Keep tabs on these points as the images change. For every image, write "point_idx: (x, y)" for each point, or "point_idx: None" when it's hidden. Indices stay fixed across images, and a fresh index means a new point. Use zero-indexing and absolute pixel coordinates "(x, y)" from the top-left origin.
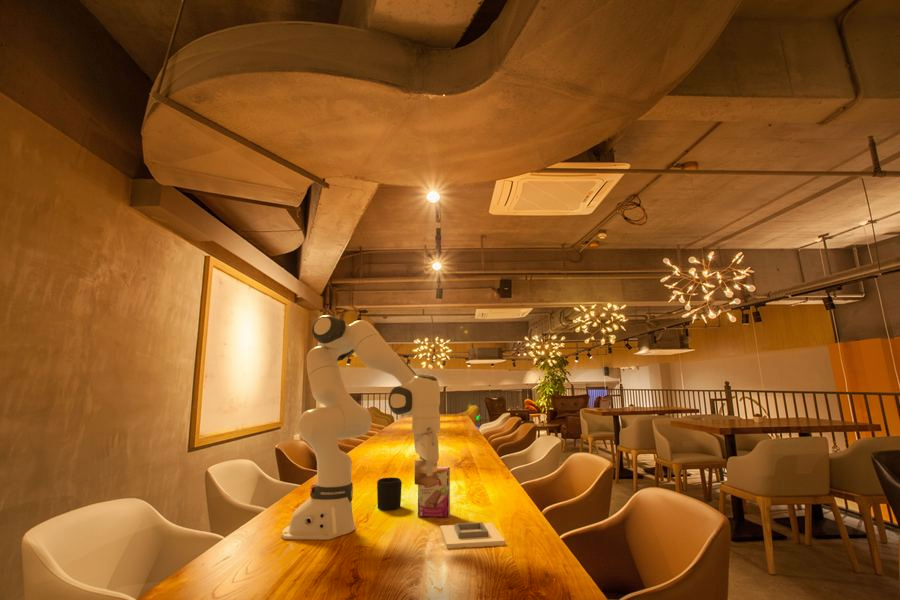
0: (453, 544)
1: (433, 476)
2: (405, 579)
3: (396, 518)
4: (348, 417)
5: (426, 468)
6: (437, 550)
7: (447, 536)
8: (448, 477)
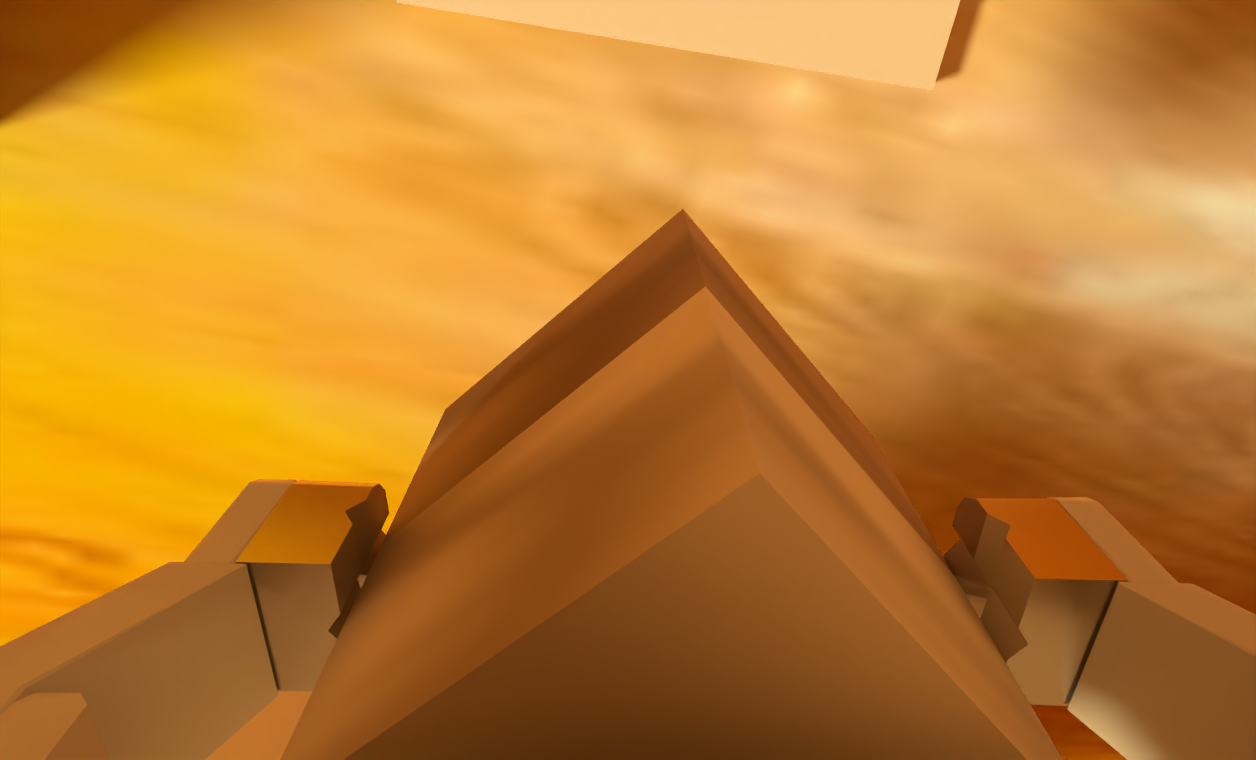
0: (951, 23)
1: (794, 368)
2: (1245, 463)
3: (12, 335)
4: None
5: (1131, 740)
6: (915, 173)
7: (745, 23)
8: None
